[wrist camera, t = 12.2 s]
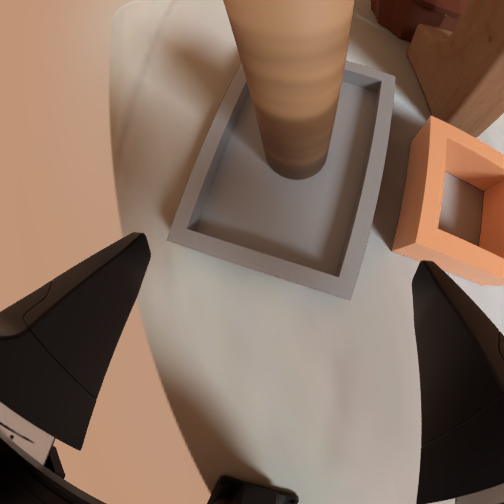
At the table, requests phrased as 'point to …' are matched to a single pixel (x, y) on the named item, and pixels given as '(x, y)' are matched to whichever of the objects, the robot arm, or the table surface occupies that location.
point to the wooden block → (463, 67)
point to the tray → (290, 190)
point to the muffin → (418, 15)
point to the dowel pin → (293, 75)
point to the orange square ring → (430, 199)
